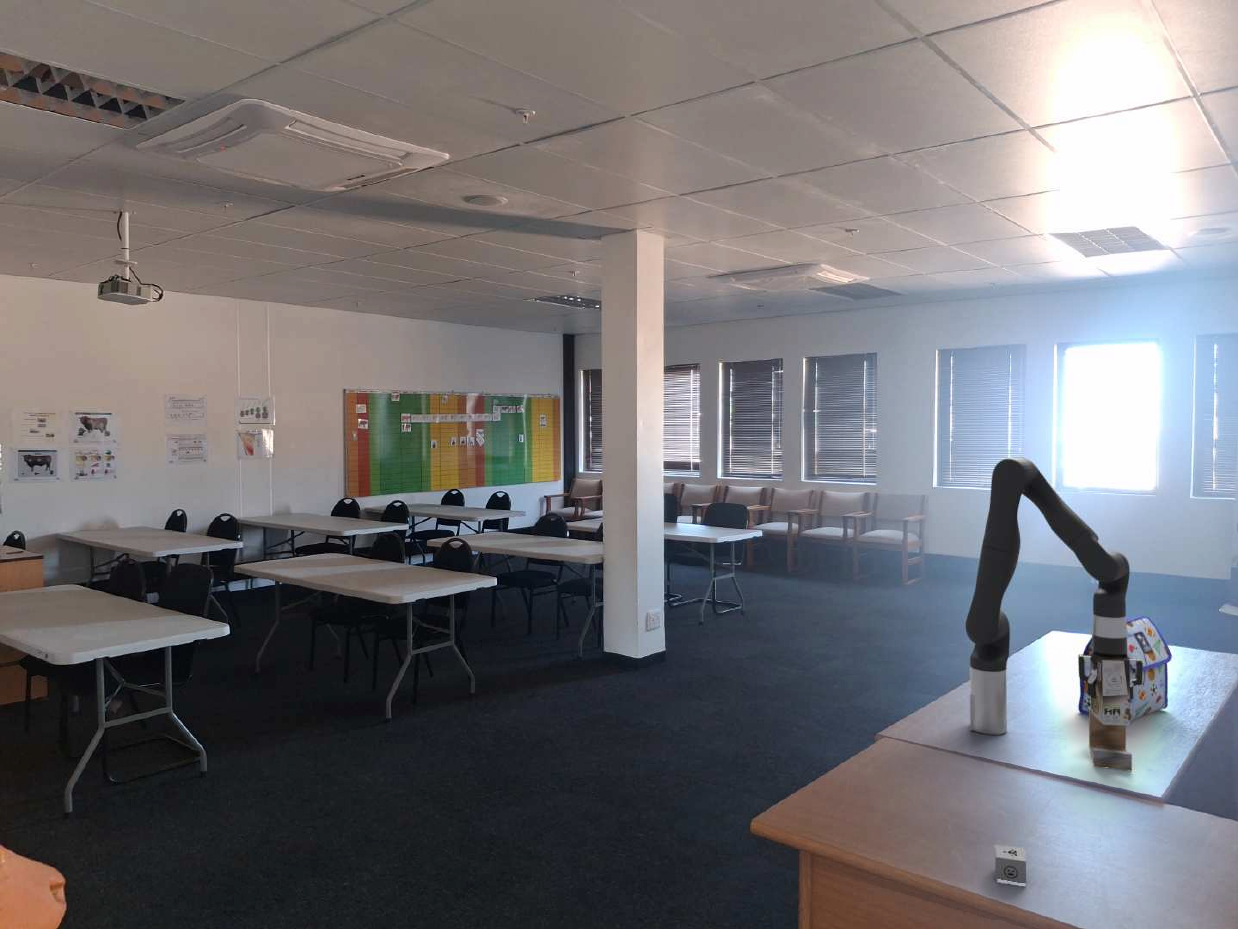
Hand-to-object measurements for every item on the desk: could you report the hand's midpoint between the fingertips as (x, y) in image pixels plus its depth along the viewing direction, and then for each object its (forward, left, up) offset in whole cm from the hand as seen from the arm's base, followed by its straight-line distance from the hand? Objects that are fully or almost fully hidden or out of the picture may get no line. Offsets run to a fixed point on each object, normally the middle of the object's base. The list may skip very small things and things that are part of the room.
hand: (1110, 699), depth 212 cm
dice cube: (-22, -68, -16) cm, 74 cm away
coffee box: (0, 0, -5) cm, 5 cm away
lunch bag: (+7, +39, -15) cm, 43 cm away
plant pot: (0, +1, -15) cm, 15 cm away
